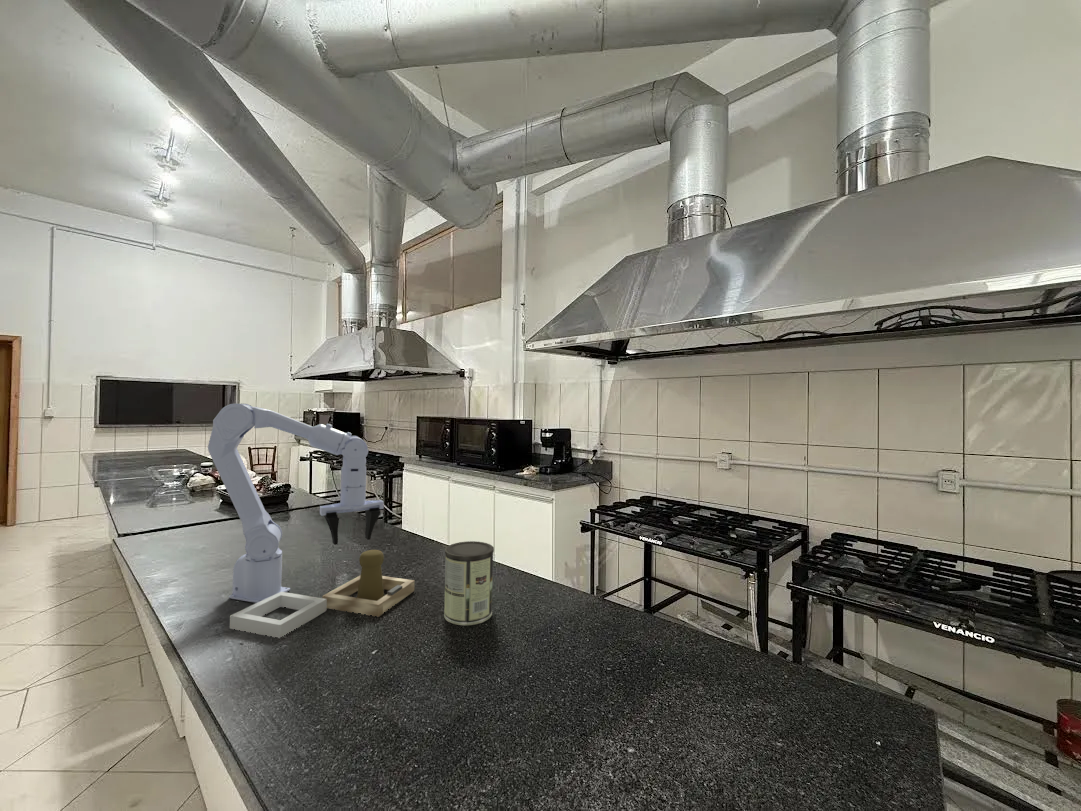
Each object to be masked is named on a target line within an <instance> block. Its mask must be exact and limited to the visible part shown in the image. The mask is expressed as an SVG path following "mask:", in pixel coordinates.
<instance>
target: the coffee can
mask: <svg viewBox="0 0 1081 811" xmlns="http://www.w3.org/2000/svg"><path fill="white" fill-rule="evenodd" d="M494 551H495V547H494V546H493V545H491V544H490V543H487V542H484V541H473V540H472V541H471V540H469V541H460V542H455V543H452V544H449V545H447V546H446V547H445V549H444V555H445V562H444V565H445V568H444V569H445V570H444V571H445V572H444V611H443V612H444V614H443V618H444V619H445V621H447V622H448V623H451V624H453V625H458V626H475V625H479V624H482V623H485V622H486V621H488V620H490V618H491V617H492V616H493V578H494V576H493V572H494V568H493V567H494Z"/></svg>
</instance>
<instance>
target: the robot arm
mask: <svg viewBox="0 0 1081 811" xmlns="http://www.w3.org/2000/svg"><path fill="white" fill-rule="evenodd" d="M262 428H273V429H276V430H280V431H281V432H285V433H288V434H292V435H295V436H298V437H301V438H304V439H306V440H307V441H308V444H309V446H310V447H312V448H315V449H318V450H321V451H324V452H327V453H330V454H332V455H335V456H339V455H342V466H341V469H340V470H341V472H340V473H341V474H340V497H339V498H340V502H338V503H332V504H325V505H319V515H320V516H322V517H324V518H325V521H326V523H327V525H328V527H329V528H328V529H329V531H330V535H331V540H332V544H333V545H338V542H339V532H338V531H339V522H340V518H339V516H338V514H343V513H352V512H353V513H354V512H361V511H364V512H365V514H364V515H365V531H364V532H365V533H364V538H365V540H367V541H368V540H371V538H372V534H373V530H374V527H375V525H376V522H378V521H377V520H378V519H379V518H380V516H381V510H383V509H385V508H384V506H385V505H384V504H385V503H384V500H382V499H377V500H376V499H375V500H366V497H367V496H366V493H367V492H366V491H367V466H366V464H367V458H366V457H367V456H368V455H369V448H368V445H367V443H366V441H364V440H363V438H360V437H359V436H358V435H352V434H353V433H351V432H349V431H347V432H344V431H341V430H339V429H336V428H333V424H330V423H326V425H325V424H323V423H319V424H317V425H315V426H314V425H313V426H312V425H310V424H307V423H305V422H303V421H299V420H297V419H294V418H292V417H289V416H287V415H285V414H282V413H280V412H278V411H275V410H272V409H268V408H264V407H259V406H252V405H250V404H248V403H230V404H227V405H225V406H224V407H222V408H221V409H220V410H219V412H218V413H217V414H216V416H215V417H214V419H213V420H212V429H211V431H210V432H211V434H210V437H209V440H208V441H209V442H208V445H207V451H208V453H209V455H210V458H211V459H212V462H213V464H214V466H215V468H216V470H217V472H218V474H219V477H220V480H221V481H222V483H223V485H224V487H225V490H226V492H227V493H228V496H229V497H230V501H231V502H232V504H233V507H234V508H235V510H236V512H237V515H238V517H239V519H240V522H241V525H242V527H241V528H242V533H243V536H244V538H245V546H244V548H245V549H244V550H245V554H242V555H241V556H240V557H238V558H237V560H236V561H235V563H234V564H233V569H232V590H231V592H232V594H230V595H228V598H229V599H232V600H237V601H238V600H239V601H244V602H249V603H253V604H256V603H258V602H260V601H262V600H264V599H266V598H268V597H271V596H273V595H275V594H277V593H279V592H287V593H288V592H290V591H291V587H286V586H282V576H283V575H282V574H283V550H282V549H280V547H279V546H280V542H281V540H282V537H283V531H282V530H283V529H282V528H281V526H280V525H279V524H277V523H276V522H274V521H273V519H272V517H271V515H270V514H269V512H267V510H266V509H265V506H264V505H263V502H262V500H261V498H260V496H259V493H258V491H257V489H256V487H255V485H254V483H253V480H252V479H251V476H250V473H249V472H248V470H247V467H246V465H245V463H244V461H243V459H242V457H241V454H240V452H239V450H238V447H239V445H240V443H241V441H242V440H243V439H244V437H245V435H246V434H247V433H248V432H250V430H252V429H262Z"/></svg>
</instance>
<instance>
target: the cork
mask: <svg viewBox="0 0 1081 811" xmlns="http://www.w3.org/2000/svg"><path fill="white" fill-rule="evenodd" d="M384 558H385V556H384V553H383V551H381V550H380V549H379V550H378V549H370V550H369V549H368V550H365V551H363V552H362V553H361V554H360V556H359V558H358V559H359V566H360V567H361V572H360V575H361V576H360V575H359V576H360V582H359V588H358V591H357V595H356V598H361V599H367V600H374V601H378V600H379V599H381V598H382V597H384V596H385V589H384V588H383V579H382V576H383V573H382V572H383V571H382V565H383V563H384V561H385V560H384Z"/></svg>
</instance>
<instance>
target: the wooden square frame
mask: <svg viewBox="0 0 1081 811" xmlns="http://www.w3.org/2000/svg"><path fill="white" fill-rule="evenodd" d="M360 576H361V574H359V575H358V576H356V577H355V578H353V579H351V580H349V581H347V582H345V583H344V584H342V585H340V586H338V587H336V588H334V589H332V590H331V591H329V592H327V593H325V594H323V595H322V597H321V598H324V599H327V609H330V610H334V609H335V611H339V612H340V611H341V612H346V611H347V612H346V613H352V612H354V613H353V614H358V613H361V614H360V615H364V614H366V615H365V616H370V615H372V616H371V617H375V616H377V618H379V617H381V616H383V614H384V612H385V613H386V612H387V611H389V610H390V609H391V608H393V607H394V606H396V605H397V604H399V603H400V602H401V601H402V600H404V599H405V598H406V597H408V596H410V595H411V594H412V593H413V592H415V584H416V583H415V579H407V578H401V577H399V578H398V577H392V576H388V575H387V576H385V575H382V579H383V588H384V591H385V590H386V591H387V593H386V594H384V597H382V598H381V599H379V600H378V601H374V600H367V599H361V598H357V597H353V596H352V595H353V594H355V593H356V592H357V593H358V588H359V582H360ZM395 604H396V605H395ZM392 606H393V607H392ZM388 609H389V610H388Z"/></svg>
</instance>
